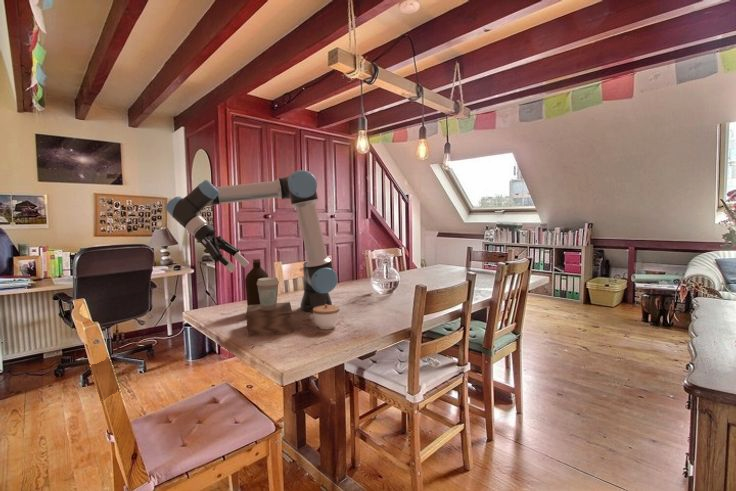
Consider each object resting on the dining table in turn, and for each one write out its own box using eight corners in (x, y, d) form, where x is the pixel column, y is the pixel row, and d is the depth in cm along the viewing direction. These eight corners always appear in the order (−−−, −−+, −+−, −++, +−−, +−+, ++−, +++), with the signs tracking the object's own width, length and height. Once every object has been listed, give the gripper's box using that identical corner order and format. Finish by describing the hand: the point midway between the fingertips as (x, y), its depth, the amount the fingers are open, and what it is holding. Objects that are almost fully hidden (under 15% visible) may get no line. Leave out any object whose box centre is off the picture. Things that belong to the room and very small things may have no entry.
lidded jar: (307, 327, 143) (306, 304, 142) (326, 321, 151) (326, 299, 150) (326, 333, 136) (325, 309, 135) (345, 326, 144) (345, 303, 143)
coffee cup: (254, 311, 138) (253, 280, 137) (262, 306, 146) (260, 277, 145) (275, 311, 137) (275, 280, 136) (282, 306, 146) (281, 277, 145)
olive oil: (253, 317, 159) (251, 261, 157) (242, 312, 166) (240, 259, 164) (274, 312, 166) (273, 259, 164) (262, 308, 174) (260, 257, 172)
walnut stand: (290, 320, 153) (289, 302, 152) (292, 332, 137) (292, 312, 136) (248, 324, 148) (247, 305, 148) (246, 337, 132) (245, 316, 131)
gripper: (209, 235, 152) (245, 269, 153) (177, 238, 127) (221, 280, 128) (221, 222, 152) (257, 257, 153) (191, 223, 127) (235, 265, 128)
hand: (241, 267), depth 141 cm, fingers open, 13 cm apart
